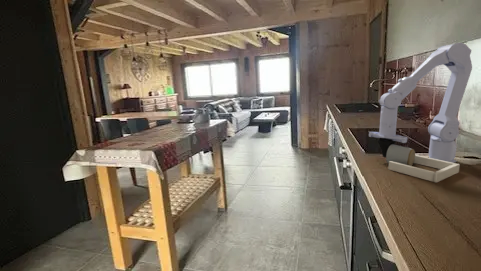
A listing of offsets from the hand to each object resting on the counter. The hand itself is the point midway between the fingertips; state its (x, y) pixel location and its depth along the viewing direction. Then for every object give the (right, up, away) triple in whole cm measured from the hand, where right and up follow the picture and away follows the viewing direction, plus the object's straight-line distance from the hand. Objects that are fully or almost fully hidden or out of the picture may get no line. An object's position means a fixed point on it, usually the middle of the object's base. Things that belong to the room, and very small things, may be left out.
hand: (385, 156), depth 106 cm
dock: (+7, -4, -11) cm, 14 cm away
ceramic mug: (+4, -3, -4) cm, 6 cm away
